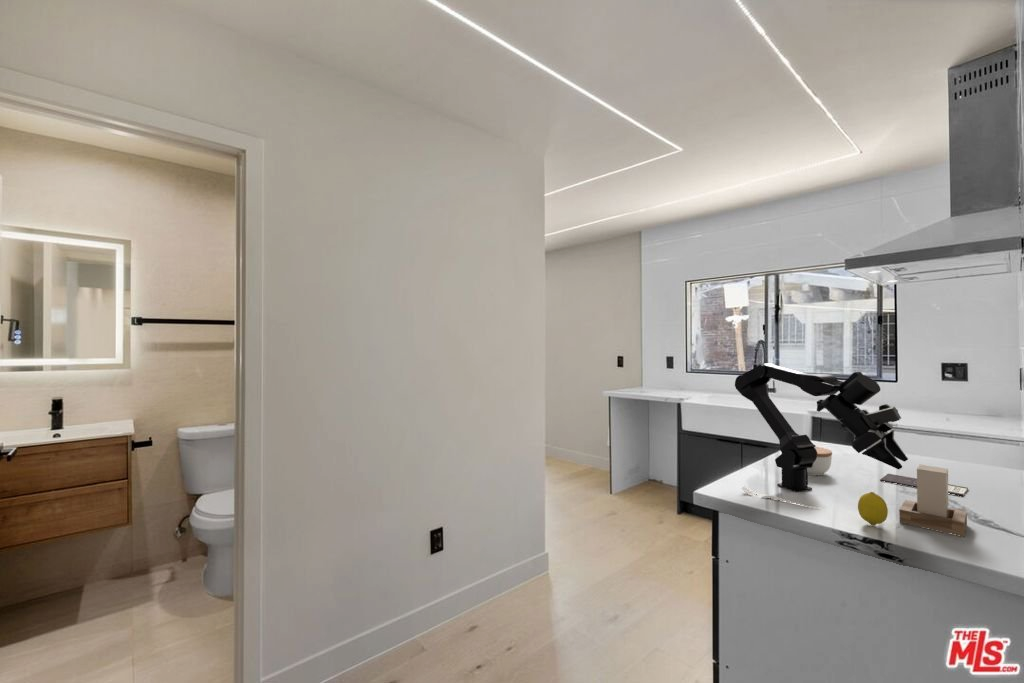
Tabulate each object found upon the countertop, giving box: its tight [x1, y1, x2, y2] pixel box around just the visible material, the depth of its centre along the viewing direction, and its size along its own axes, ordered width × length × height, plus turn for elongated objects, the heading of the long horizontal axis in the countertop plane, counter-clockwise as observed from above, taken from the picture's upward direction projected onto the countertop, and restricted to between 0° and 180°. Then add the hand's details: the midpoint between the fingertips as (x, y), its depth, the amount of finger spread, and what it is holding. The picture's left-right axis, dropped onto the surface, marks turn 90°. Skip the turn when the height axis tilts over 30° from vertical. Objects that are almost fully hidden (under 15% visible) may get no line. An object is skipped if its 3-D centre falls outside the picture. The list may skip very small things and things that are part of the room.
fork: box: [741, 485, 819, 510], centre depth 123 cm, size 3×20×2 cm, turn 45°
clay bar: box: [916, 464, 949, 518], centre depth 107 cm, size 5×5×12 cm
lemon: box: [857, 491, 889, 527], centre depth 106 cm, size 6×6×8 cm
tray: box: [899, 499, 968, 538], centre depth 107 cm, size 9×11×3 cm
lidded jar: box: [807, 446, 833, 477], centre depth 147 cm, size 11×11×9 cm
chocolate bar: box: [879, 473, 969, 497], centre depth 133 cm, size 9×1×18 cm
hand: (903, 464), depth 110 cm, fingers open, 9 cm apart
